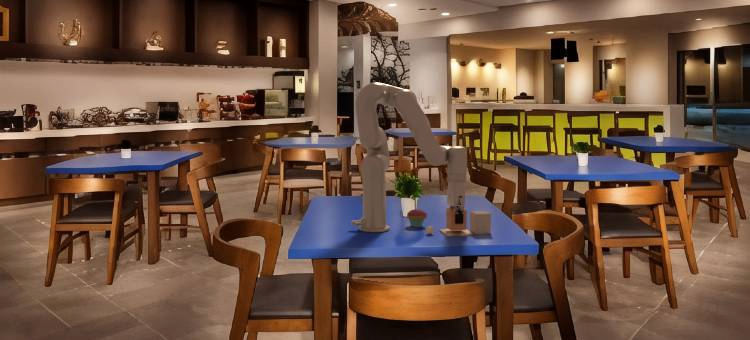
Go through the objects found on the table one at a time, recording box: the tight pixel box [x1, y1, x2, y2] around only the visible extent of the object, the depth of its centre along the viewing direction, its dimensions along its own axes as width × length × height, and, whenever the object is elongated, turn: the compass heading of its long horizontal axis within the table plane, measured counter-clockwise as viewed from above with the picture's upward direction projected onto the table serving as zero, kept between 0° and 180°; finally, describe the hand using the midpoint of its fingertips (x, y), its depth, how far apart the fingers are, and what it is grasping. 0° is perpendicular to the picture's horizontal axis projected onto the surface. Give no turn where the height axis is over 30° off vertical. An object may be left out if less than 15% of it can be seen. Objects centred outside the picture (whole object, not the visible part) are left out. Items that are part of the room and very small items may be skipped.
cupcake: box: [406, 198, 428, 228], centre depth 260 cm, size 9×8×12 cm
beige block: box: [469, 210, 492, 235], centre depth 247 cm, size 6×6×8 cm
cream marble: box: [425, 225, 435, 235], centre depth 244 cm, size 3×3×3 cm
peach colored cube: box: [445, 207, 468, 230], centre depth 245 cm, size 6×6×8 cm
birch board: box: [438, 228, 475, 237], centre depth 246 cm, size 11×11×1 cm
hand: (456, 221), depth 245 cm, fingers open, 6 cm apart
